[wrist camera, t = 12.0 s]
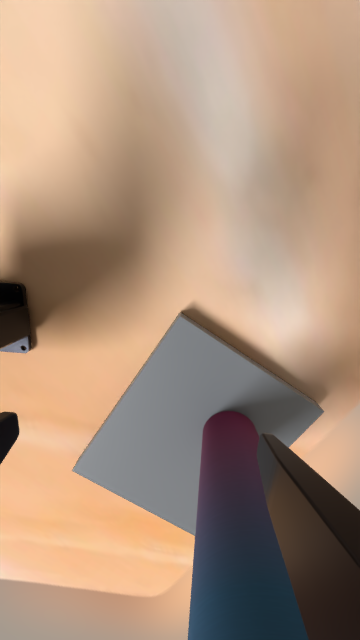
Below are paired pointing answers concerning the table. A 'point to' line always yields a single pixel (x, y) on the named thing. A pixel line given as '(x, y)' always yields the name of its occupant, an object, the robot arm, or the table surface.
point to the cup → (237, 544)
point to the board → (185, 420)
